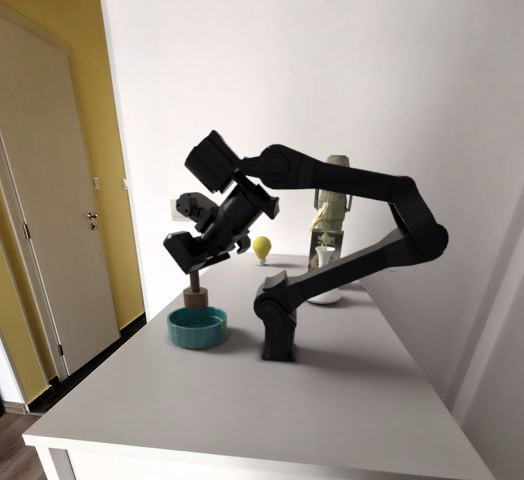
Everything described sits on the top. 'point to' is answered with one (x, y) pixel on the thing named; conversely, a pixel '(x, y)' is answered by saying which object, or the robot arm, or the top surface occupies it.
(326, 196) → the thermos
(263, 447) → the top surface
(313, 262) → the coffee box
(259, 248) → the light bulb
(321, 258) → the flower in vase
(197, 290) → the brown peg stamp
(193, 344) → the bowl
